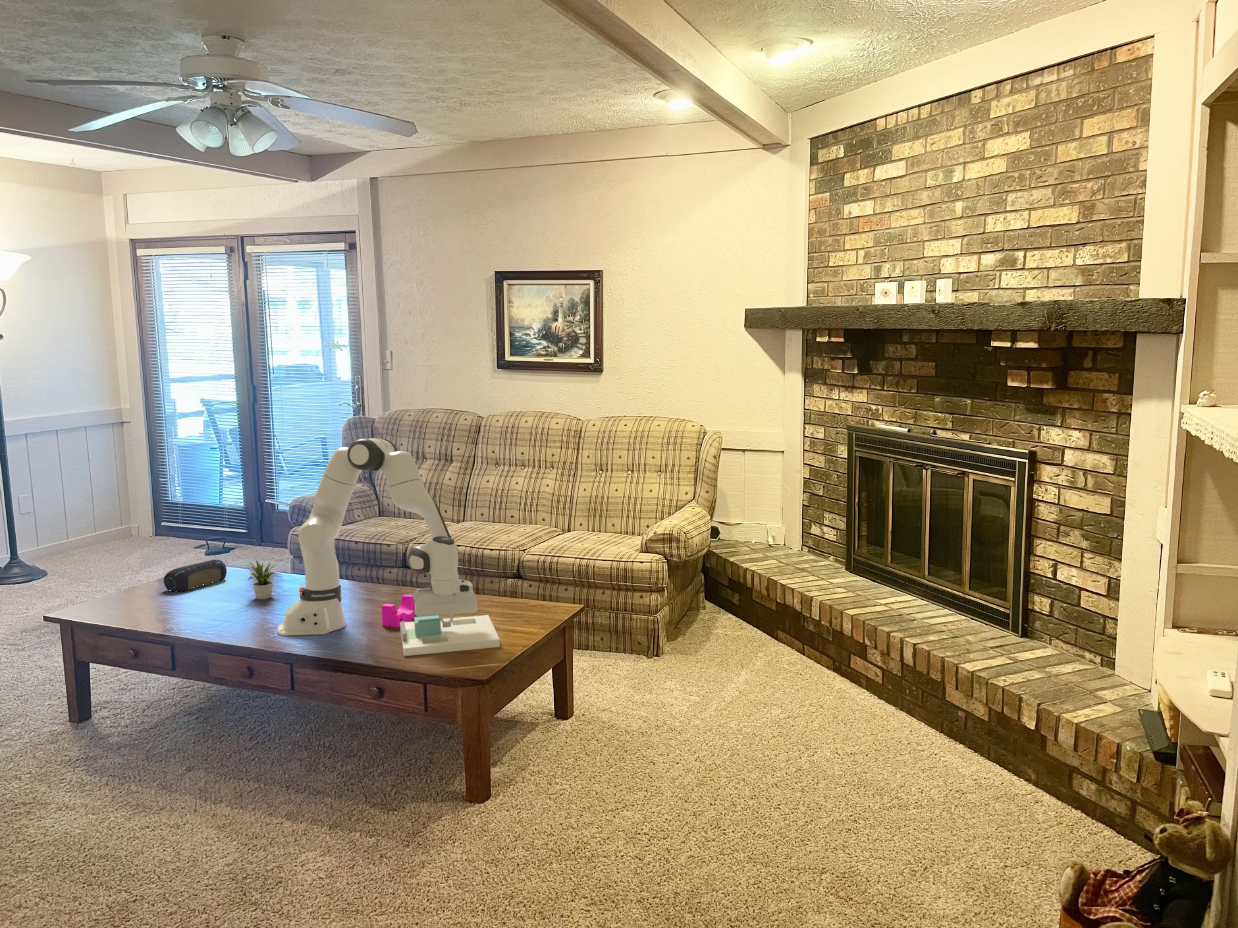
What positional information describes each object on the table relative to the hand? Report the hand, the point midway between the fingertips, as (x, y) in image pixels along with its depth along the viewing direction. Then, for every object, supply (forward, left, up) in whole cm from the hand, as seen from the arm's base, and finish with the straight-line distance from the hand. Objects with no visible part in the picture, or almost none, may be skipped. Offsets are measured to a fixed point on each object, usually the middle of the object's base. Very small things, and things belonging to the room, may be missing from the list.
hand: (446, 626), depth 306 cm
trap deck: (0, 0, -4) cm, 4 cm away
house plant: (-65, +70, -4) cm, 96 cm away
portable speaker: (-91, +96, -4) cm, 133 cm away
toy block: (-14, +25, -4) cm, 29 cm away
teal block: (-6, 0, -1) cm, 6 cm away
